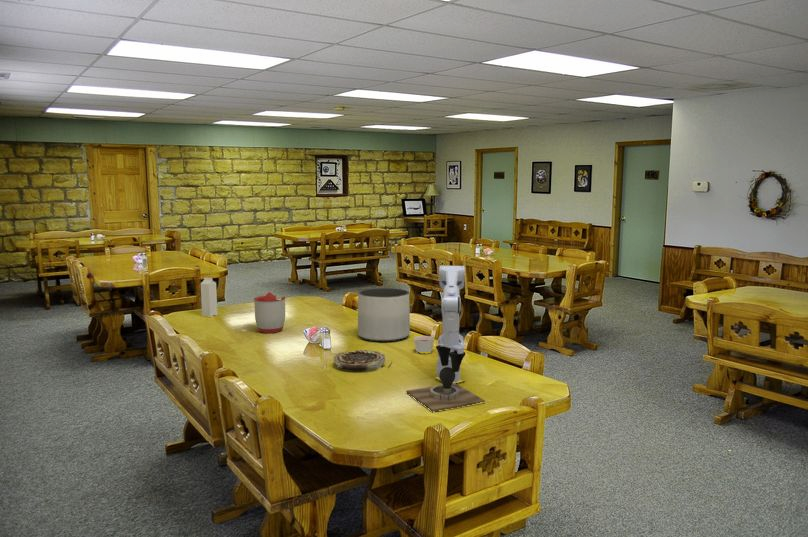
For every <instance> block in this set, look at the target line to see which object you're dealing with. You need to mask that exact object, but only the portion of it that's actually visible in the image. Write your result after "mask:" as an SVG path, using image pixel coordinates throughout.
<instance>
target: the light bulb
mask: <svg viewBox="0 0 808 537" xmlns="http://www.w3.org/2000/svg"><path fill="white" fill-rule="evenodd" d="M439 378H440V380H441V385H443V388H444V394H450V393H451V386H452V383H453V381H454V380H455V372H453V371H452V368H450V367H445V368H443V369H442V370H441V371H440V374H439Z"/></svg>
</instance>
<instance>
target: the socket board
mask: <svg viewBox="0 0 808 537" xmlns="http://www.w3.org/2000/svg"><path fill="white" fill-rule="evenodd" d="M434 386H435V385H433V386H428V387H421V388H414V389H408V390H406V391H405V393H406V392H407V393H408V394H410V395H411V396H412V397H414V398H415V399H416V400H417V401H419V402H420V403H422V404H423V405H425V406H426V407H427V408H429V409H430V410H431V411H439V410H445V409H450V410H452V409H451V408H456V409H458V408H457V407H461V408H463V407H462V406H466V407H468V406H467V405H472V404H476V403H480V402H486V401H485V399H483V398H481V397H480V396H478V395H476V394H475V393H473V392H471V391H470V390H468V389H466V388H464V387H463V386H461V385H459V383H457V384H456V383H452V386H454V387H456V388H458V389H459V397H458V398H457V399H455V400H449V401H442V400H437V399H433V398H432V397H430V388H432V387H434ZM436 393H440V394H444V391H441V392H436ZM451 393H452V392H451ZM408 394H407V395H408ZM411 396H410V397H411ZM412 397H411V398H412ZM415 399H414V400H415ZM416 400H415V401H416ZM417 401H416V402H417ZM419 402H418V403H419ZM420 403H419V404H420ZM422 404H421V405H422ZM423 405H422V406H423ZM472 406H473V405H472ZM426 407H425V408H426ZM427 408H426V409H427ZM430 410H429V411H430ZM431 411H430V412H431ZM445 411H446V410H445ZM439 412H440V411H439Z"/></svg>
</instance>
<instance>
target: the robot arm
mask: <svg viewBox="0 0 808 537" xmlns="http://www.w3.org/2000/svg"><path fill="white" fill-rule="evenodd" d="M465 279H466V267H465V265H443V264H440V265H439V266H438V280H439V281H438V282H439V283H438V284H439V286H440V289H442V292H443V294H442V297H441V302H440V303H441V304H440V305H441V309H440V310H441V316H442V317H441V318H442V322H441V323H442V329H441V330H442V333H441V334H440V335H439V336H438V338H437V345H436V346H435V348H436V350H437V356H438V358H437V360H436V376H437V377H439V374H440V371H441V370H442V369H443V368H445V367H450V368H452V371H453V372H455V380H454V381H453V382H457V381H459V380H460V379H461V364H462V362H463V359H464V358H465V356H466V352H465V342H464V337H463V335H461V334H460V313H461V306H462V305H461V302H462V301H461V300H462V299H461V296H460V291H461V290H462V289H464V287H465V281H466V280H465Z"/></svg>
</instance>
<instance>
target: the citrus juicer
mask: <svg viewBox="0 0 808 537" xmlns="http://www.w3.org/2000/svg"><path fill="white" fill-rule="evenodd" d="M253 301H254V303H253V304H254V320H255V323H256V326H257V330H258V332H260V333H263V334H273V333H279V332H281V331H283V329H284V324H285V322H286V321H285V320H286V297H285V296H282V297H281V298H280V299H277V295H276V294H275V295H274V293H272V292H270V291H269V292H267V293H266V295H260V296H257V297H254V298H253Z"/></svg>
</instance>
